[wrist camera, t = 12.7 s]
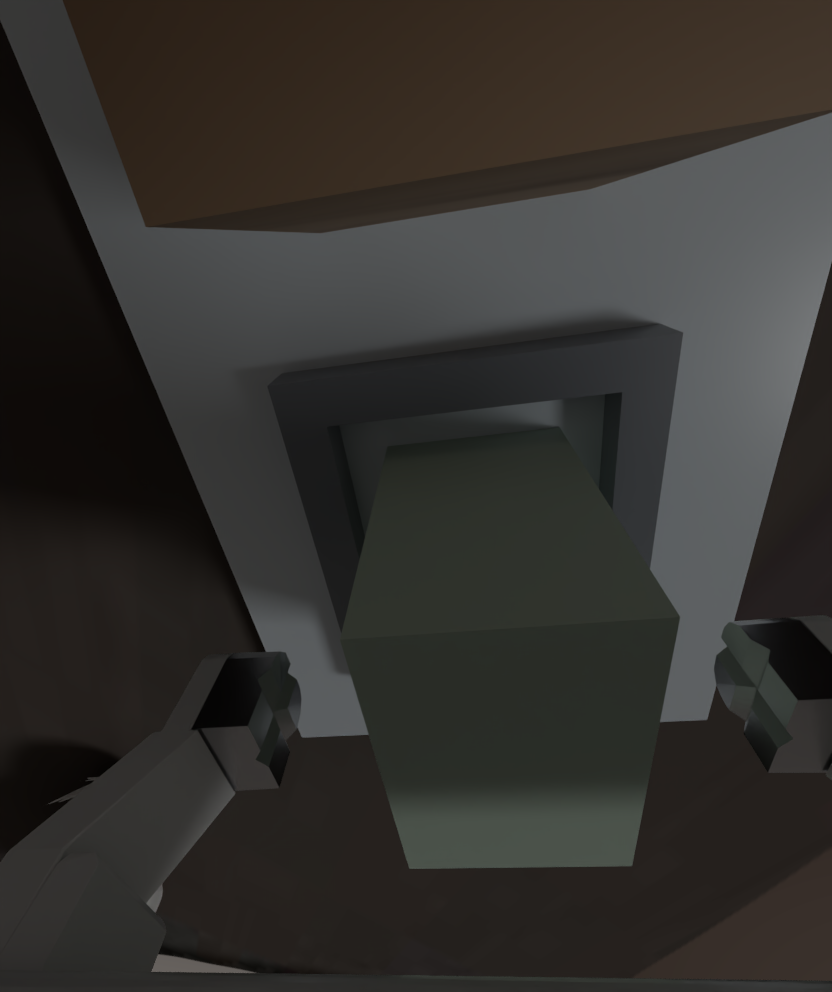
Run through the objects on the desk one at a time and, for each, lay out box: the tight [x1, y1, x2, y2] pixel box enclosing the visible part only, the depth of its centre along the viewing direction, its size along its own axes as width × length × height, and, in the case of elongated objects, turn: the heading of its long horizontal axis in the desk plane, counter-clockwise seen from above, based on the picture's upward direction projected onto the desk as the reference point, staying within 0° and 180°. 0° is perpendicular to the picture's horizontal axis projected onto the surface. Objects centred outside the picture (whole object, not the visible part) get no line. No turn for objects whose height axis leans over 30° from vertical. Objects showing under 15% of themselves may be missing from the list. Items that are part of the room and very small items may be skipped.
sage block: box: [340, 427, 680, 869], centre depth 9 cm, size 6×4×6 cm, turn 8°
